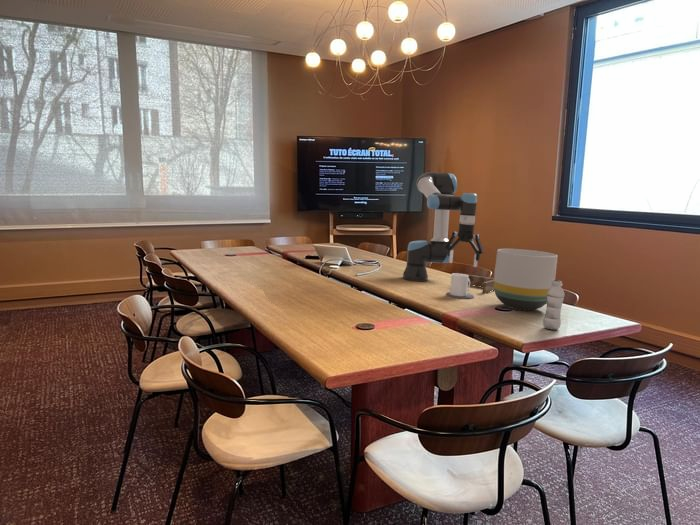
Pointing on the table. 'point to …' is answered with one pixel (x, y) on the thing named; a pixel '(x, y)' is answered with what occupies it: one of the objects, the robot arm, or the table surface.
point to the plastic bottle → (554, 306)
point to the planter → (524, 277)
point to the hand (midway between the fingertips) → (462, 264)
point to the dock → (482, 282)
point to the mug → (459, 284)
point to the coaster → (468, 296)
